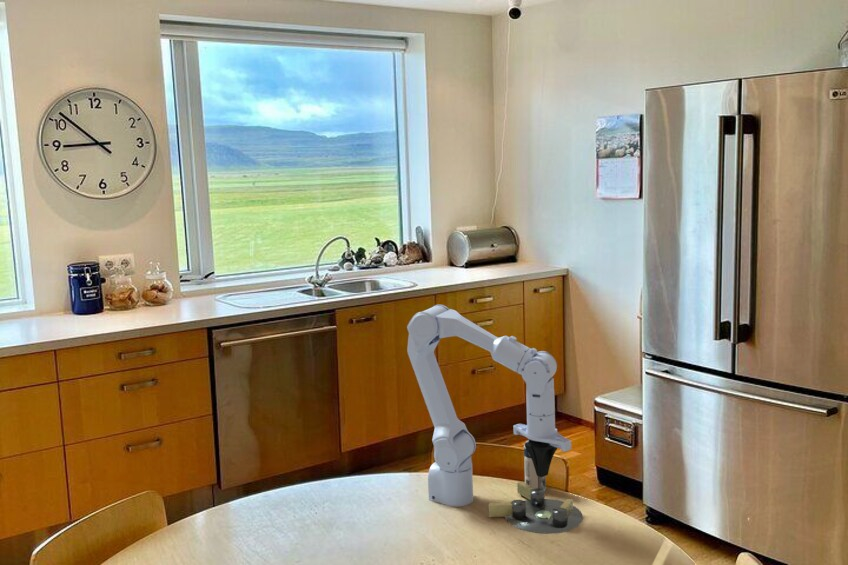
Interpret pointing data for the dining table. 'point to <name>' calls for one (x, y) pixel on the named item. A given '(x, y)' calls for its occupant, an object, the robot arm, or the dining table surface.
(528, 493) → the rear lever
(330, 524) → the dining table surface
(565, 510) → the outer lever
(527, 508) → the base plate
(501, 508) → the inner lever
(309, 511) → the dining table surface
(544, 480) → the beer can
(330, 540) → the dining table surface
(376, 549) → the dining table surface
